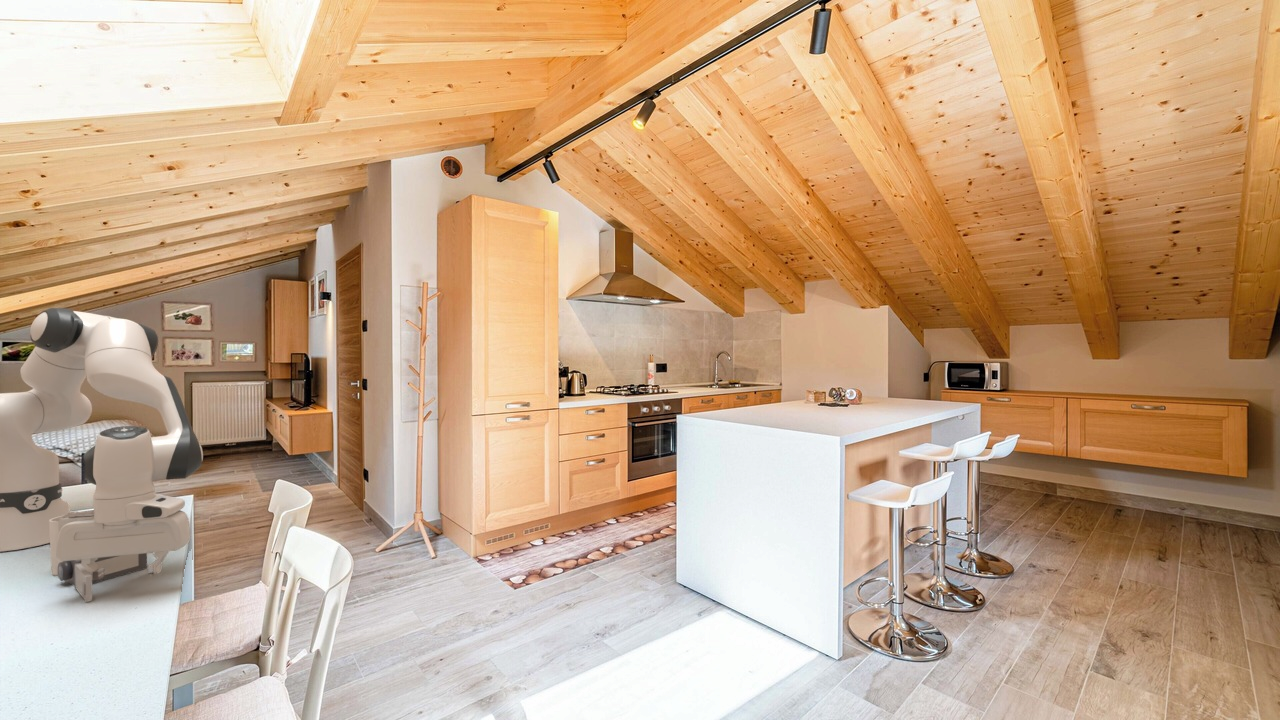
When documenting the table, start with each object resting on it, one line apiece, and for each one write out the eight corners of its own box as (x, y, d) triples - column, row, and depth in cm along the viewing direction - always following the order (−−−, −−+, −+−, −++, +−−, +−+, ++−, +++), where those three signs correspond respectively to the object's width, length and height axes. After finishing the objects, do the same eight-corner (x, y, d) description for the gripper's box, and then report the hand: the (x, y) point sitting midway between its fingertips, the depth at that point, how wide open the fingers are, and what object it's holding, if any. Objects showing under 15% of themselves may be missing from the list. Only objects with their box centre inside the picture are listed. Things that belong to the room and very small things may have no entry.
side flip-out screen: (81, 585, 107) (81, 562, 107) (92, 600, 100) (92, 575, 100) (72, 587, 106) (72, 564, 106) (83, 602, 99) (83, 577, 99)
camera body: (54, 582, 109) (53, 554, 109) (131, 561, 120) (131, 536, 120) (68, 590, 106) (68, 560, 106) (147, 568, 117) (147, 541, 116)
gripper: (45, 517, 98) (47, 589, 98) (177, 507, 104) (178, 575, 104) (70, 508, 104) (71, 576, 104) (194, 499, 110) (194, 563, 110)
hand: (126, 575), depth 104 cm, fingers open, 8 cm apart
